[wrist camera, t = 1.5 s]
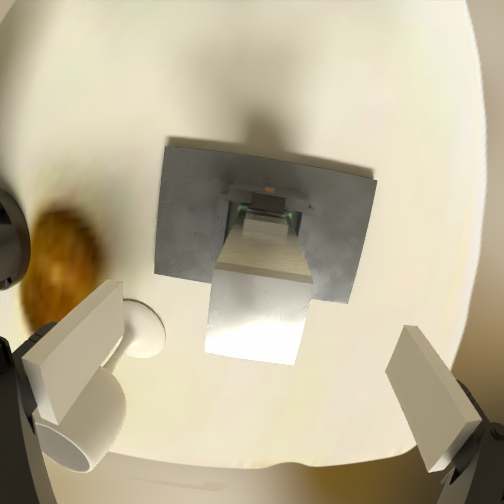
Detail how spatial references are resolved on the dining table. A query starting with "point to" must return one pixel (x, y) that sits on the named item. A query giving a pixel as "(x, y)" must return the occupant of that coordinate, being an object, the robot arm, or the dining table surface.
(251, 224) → the column
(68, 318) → the robot arm
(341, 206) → the stand base
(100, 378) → the wineglass
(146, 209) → the dining table surface
